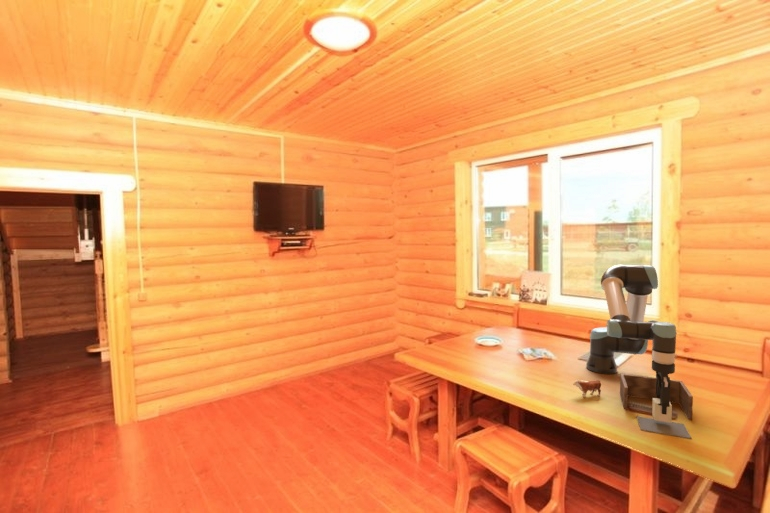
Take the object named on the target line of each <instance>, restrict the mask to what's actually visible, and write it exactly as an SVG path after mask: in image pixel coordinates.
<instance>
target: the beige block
mask: <svg viewBox="0 0 770 513" xmlns="http://www.w3.org/2000/svg"><path fill="white" fill-rule="evenodd" d="M651 403H652V406H651V408H652V409H651V415H652V417H653V418H652V419H654V420H657V421H659V405H658V403H659V404H660V399H658V398H653V400H652V401H651ZM671 403H672V402H670V401H669V405H670V406H669V407H668V422H669V423H671V422H672V418H673V417H672V416H673V415H672V413H673V411H672V410H673V408H672V407H673V405H672V404H671Z"/></svg>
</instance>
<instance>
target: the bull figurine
mask: <svg viewBox="0 0 770 513" xmlns="http://www.w3.org/2000/svg"><path fill="white" fill-rule="evenodd" d="M572 385H573V386H576V387H577V388H578V389H579V390H580V391H581V392H582V393H583V394H582V398H583V399H585V398H586V397H587V396H586V395H587V392H588V391H589V392H590V394H589V395H591V396H592V395H593V394H594V392H598V394H597V397H600V396H601V391H602V390H601V386H602V384H601V381H600V380H599V379H597V380H583V379H582V380H580V379H576V380H574V382H573V383H572Z"/></svg>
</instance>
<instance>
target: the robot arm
mask: <svg viewBox="0 0 770 513" xmlns="http://www.w3.org/2000/svg"><path fill="white" fill-rule="evenodd" d="M658 278H659V277H658V273H657V271H656V268H655V266H653V265H649V264H647V265H645V264H617V265H616V264H615V265H613V266H611V267H608V268H607V269H606V270H605V272H604V273H603V274H602V276H601V278H600V285H601V289H602V290H603V291H604V295H605V299H606V304H607V309H608V314H609V318H610V319H608V320H607V322H606V326H604V327H603V326H602V327H600V326H599V327H596V328H592V329H591V331H590V336H589V339H590V341H589V342H590V343H589V344H590V345H589V347H590V348H589V357H588V358H587V361H586V365H585V366H586V369H587V370H588V371H591V372H593V373H597V374H604V375H613V374H616V373H617V372H618V365H617V363H616V360H615V356H614V353H615V354H616V353H618V354H628V355H644V354H645V353H646V352H647V350H648V343H649V341H652V348H651V359H652V361H651V370H652V371H653V372H655V378H656V392H655V393H656V397H657V398H658V399H660V404H659V403H658V405H659V421H663V422H668V407H669V406H670V405H669V400H670V380H671V378H670V377H669V375H672V374H674V373H675V372H676V363H675V362H676V358H677V356H678V355H677V354H676V346H677V343H676V342H677V341H676V340H677V325H675V324H674V323H670V322H668V321H667V322H666V321H658V320H649V321H645V315H646V309H647V301H648V296H649V295H651V294H652V293H653V290H656V289H658V287H659V283H658V282H659V281H658ZM623 289H624V290H625V291H626V292H627V296H626V298H625V294H624V290H623Z"/></svg>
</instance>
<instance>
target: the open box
mask: <svg viewBox="0 0 770 513" xmlns="http://www.w3.org/2000/svg"><path fill="white" fill-rule="evenodd" d="M619 378H620V379H619V382H620V383H619V394H620V398H621V399H620V400H621V402H622V406H623V410H626V411H628V397H631V398H640V399H647V400H652V401H653V398H657V397H656V393H655V392H656V377H652V376H651V377H649V376H642V375H634V374H626V373H620V377H619ZM693 400H694V396H693V395H692V393H691V392H690V391H689V389H688V388H687V386H686V384H685V383H684V382H683V380H682V381H681V380H674V379H670V400H669V401H670V403H673V404H674V403H675V404H679V407H680V408H681V410H682V411H683V413H684V414H685V416H686V418H687V420H688V421H692V420H693V403H694V401H693Z"/></svg>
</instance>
